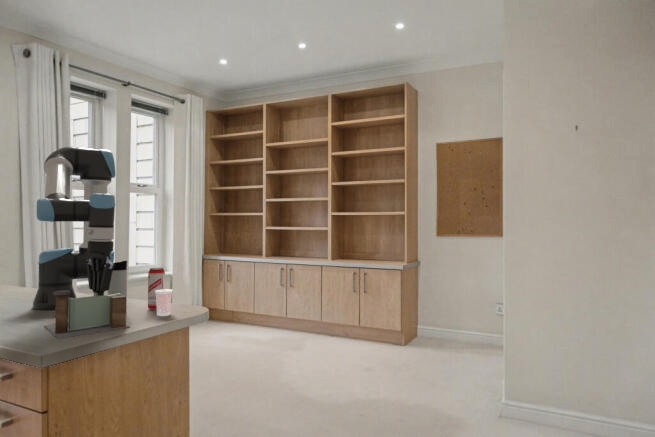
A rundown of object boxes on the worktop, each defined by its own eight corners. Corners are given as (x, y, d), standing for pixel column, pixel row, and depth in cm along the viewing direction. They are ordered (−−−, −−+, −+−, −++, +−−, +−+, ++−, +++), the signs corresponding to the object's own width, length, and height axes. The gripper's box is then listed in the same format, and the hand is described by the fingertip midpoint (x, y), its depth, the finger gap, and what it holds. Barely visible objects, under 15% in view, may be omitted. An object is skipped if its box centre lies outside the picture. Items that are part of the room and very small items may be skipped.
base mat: (44, 326, 140) (44, 325, 140) (110, 317, 154) (110, 316, 154) (58, 338, 125) (58, 337, 125) (129, 327, 139) (129, 326, 139)
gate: (67, 328, 134) (68, 298, 134) (118, 321, 144) (118, 292, 144) (70, 330, 131) (70, 299, 131) (121, 322, 141) (121, 294, 141)
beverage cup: (160, 317, 154) (160, 278, 155) (151, 314, 158) (152, 276, 159) (175, 314, 159) (176, 276, 159) (167, 312, 163) (167, 275, 163)
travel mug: (119, 317, 153) (120, 261, 154) (103, 316, 155) (104, 261, 155) (131, 314, 160) (131, 260, 160) (115, 313, 161) (116, 259, 161)
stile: (109, 327, 139) (109, 296, 139) (122, 325, 142) (122, 295, 142) (112, 329, 136) (113, 298, 136) (125, 327, 139) (126, 296, 139)
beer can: (152, 307, 172) (152, 267, 172) (167, 307, 172) (167, 267, 172) (144, 310, 166) (145, 269, 166) (160, 310, 166) (161, 269, 166)
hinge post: (51, 333, 131) (52, 291, 131) (68, 331, 134) (68, 290, 134) (54, 336, 128) (55, 293, 128) (71, 333, 131) (72, 291, 131)
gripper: (78, 239, 142) (75, 311, 141) (101, 241, 135) (98, 316, 135) (99, 239, 148) (97, 307, 148) (123, 241, 142) (120, 312, 142)
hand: (98, 311), depth 142 cm, fingers closed
